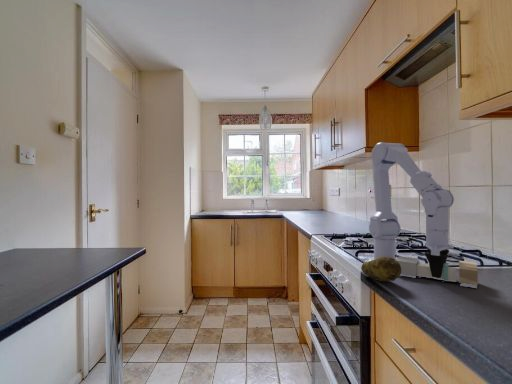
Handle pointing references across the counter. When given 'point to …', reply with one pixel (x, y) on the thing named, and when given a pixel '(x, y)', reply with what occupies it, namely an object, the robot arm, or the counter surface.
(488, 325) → the counter surface
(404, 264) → the sleeve
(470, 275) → the tan rectangular block
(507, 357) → the counter surface
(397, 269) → the potato
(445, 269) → the white bar teal band
